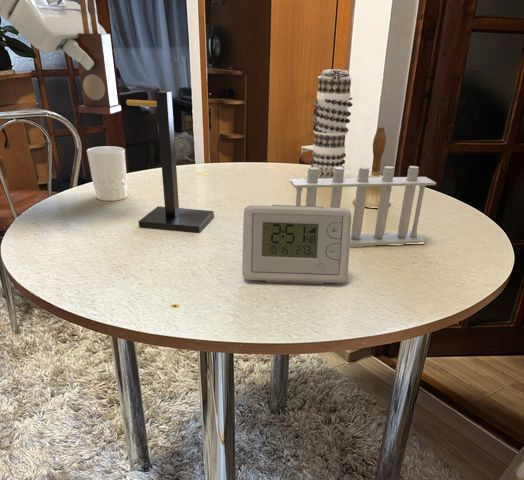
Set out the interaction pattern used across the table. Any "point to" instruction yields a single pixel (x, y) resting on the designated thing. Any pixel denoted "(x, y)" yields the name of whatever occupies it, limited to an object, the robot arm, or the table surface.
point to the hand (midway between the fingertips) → (99, 66)
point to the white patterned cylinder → (331, 121)
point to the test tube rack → (361, 184)
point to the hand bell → (375, 169)
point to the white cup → (108, 172)
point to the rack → (170, 176)
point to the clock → (102, 75)
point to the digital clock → (296, 244)
